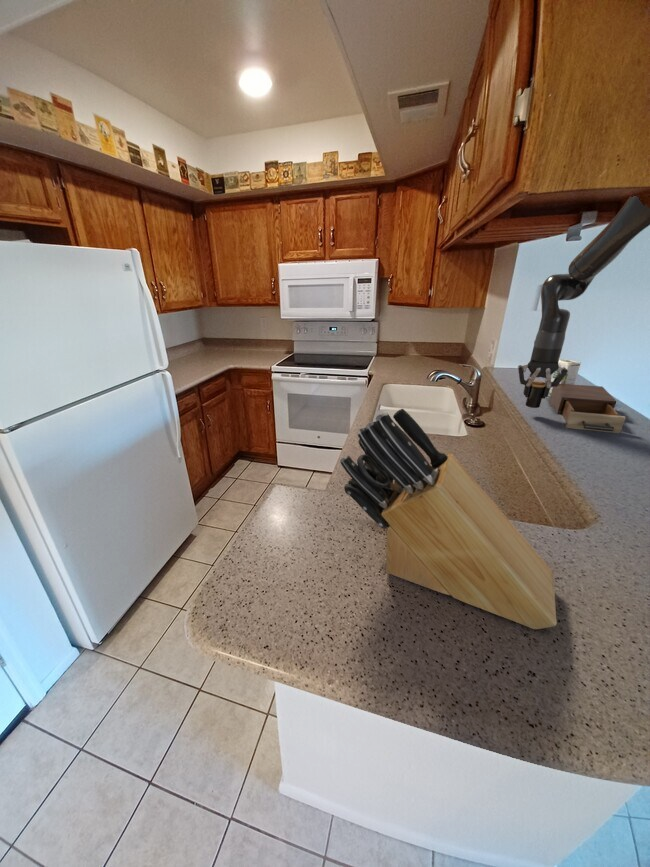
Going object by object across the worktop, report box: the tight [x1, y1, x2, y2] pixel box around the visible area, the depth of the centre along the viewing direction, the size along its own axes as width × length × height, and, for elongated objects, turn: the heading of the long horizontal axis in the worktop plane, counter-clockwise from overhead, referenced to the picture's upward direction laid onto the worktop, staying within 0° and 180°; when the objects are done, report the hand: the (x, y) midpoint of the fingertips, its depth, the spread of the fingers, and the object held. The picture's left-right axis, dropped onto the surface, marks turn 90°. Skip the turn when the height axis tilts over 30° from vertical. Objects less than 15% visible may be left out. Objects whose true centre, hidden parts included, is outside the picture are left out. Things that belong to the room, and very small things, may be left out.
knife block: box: [339, 408, 558, 630], centre depth 54 cm, size 11×35×31 cm, turn 61°
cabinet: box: [548, 384, 617, 415], centre depth 115 cm, size 15×15×8 cm
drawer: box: [560, 400, 627, 434], centre depth 104 cm, size 18×14×6 cm
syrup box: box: [547, 358, 582, 397], centre depth 127 cm, size 6×6×14 cm
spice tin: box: [525, 380, 546, 409], centre depth 109 cm, size 4×4×8 cm
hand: (534, 396), depth 109 cm, fingers closed on spice tin, 4 cm apart
